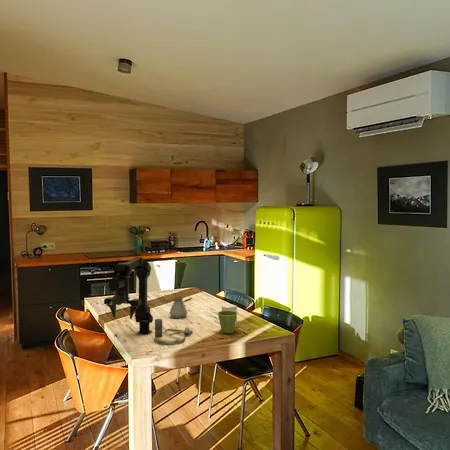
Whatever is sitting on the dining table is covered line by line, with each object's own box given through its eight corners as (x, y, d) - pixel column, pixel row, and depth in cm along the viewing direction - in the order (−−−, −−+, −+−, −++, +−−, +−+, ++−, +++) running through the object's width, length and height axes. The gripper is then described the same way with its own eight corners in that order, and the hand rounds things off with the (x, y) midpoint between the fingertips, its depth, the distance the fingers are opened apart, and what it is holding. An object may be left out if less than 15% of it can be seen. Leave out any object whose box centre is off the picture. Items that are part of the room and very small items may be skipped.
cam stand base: (166, 331, 269) (166, 328, 268) (194, 334, 264) (194, 330, 263) (148, 343, 247) (148, 340, 247) (178, 346, 242) (178, 343, 242)
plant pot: (216, 329, 273) (216, 310, 272) (237, 329, 273) (237, 310, 273) (217, 335, 261) (217, 315, 260) (238, 335, 262) (238, 315, 261)
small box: (231, 320, 292) (231, 304, 292) (237, 322, 288) (237, 305, 287) (221, 322, 287) (221, 305, 287) (227, 324, 283) (227, 307, 282)
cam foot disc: (180, 330, 267) (180, 312, 266) (198, 336, 255) (198, 317, 255) (149, 337, 253) (148, 318, 252) (166, 344, 241) (166, 324, 240)
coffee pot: (166, 316, 302) (166, 293, 301) (181, 313, 309) (180, 291, 308) (184, 323, 285) (184, 299, 284) (199, 320, 292) (199, 297, 291)
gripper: (98, 289, 233) (98, 320, 234) (132, 291, 229) (132, 323, 229) (109, 286, 244) (109, 315, 244) (142, 288, 239) (141, 318, 240)
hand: (122, 318), depth 239 cm, fingers open, 9 cm apart
